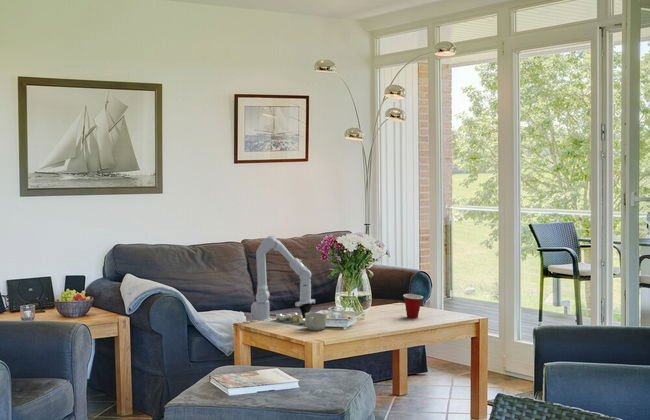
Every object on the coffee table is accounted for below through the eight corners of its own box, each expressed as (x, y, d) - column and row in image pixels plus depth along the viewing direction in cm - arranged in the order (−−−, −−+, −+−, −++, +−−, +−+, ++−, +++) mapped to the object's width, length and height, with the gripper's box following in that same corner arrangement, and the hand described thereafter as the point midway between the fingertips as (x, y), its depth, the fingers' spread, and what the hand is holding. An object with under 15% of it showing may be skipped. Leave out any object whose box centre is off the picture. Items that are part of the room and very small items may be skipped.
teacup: (311, 326, 430) (311, 311, 430) (330, 329, 425) (330, 313, 425) (297, 331, 418) (297, 315, 418) (317, 334, 413) (317, 317, 413)
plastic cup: (416, 320, 453) (416, 297, 453) (398, 317, 460) (399, 295, 459) (426, 317, 462) (427, 295, 461) (409, 314, 469) (409, 293, 468)
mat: (261, 323, 437) (261, 322, 437) (286, 318, 453) (286, 317, 453) (298, 329, 423) (298, 328, 423) (322, 323, 439) (322, 323, 439)
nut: (290, 322, 440) (290, 316, 440) (293, 320, 444) (293, 315, 444) (299, 323, 438) (299, 317, 438) (302, 321, 442) (302, 315, 442)
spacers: (272, 320, 444) (272, 314, 444) (287, 317, 454) (287, 311, 454) (308, 326, 430) (308, 320, 429) (323, 322, 440) (324, 316, 440)
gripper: (302, 295, 438) (302, 321, 438) (319, 291, 449) (319, 317, 450) (292, 293, 442) (291, 319, 443) (309, 290, 453) (308, 315, 454)
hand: (305, 318), depth 447 cm, fingers closed
